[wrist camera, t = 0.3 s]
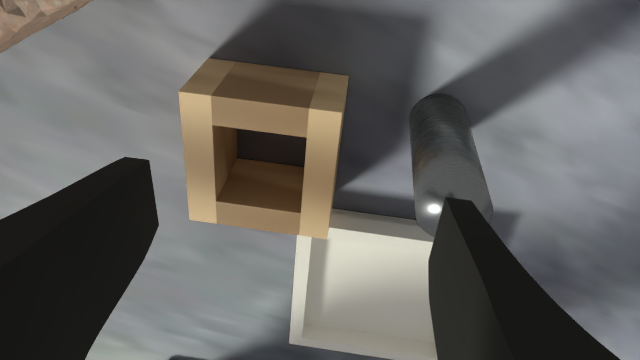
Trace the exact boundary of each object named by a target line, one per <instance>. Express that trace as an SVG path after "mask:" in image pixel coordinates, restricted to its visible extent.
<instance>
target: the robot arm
mask: <svg viewBox="0 0 640 360" xmlns="http://www.w3.org/2000/svg"><path fill="white" fill-rule="evenodd" d="M158 226H159V223H158V216H157V209H156V203H155V196H154V189H153V183H152V176H151V169H150V163H149V160H145V159H137V158H129V157H124V158H122V159H119V160H117V161H115V162H113V163H111V164H109V165H107V166H105V167H103V168H101V169H99V170H98V171H96V172H94V173H92V174H90V175H88V176H86V177H85V178H83V179H81V180H79V181H77V182H75V183H73V184H71V185H69V186H68V187H66V188H64V189H62V190H60V191H58V192H56V193H54V194H53V195H51V196H49V197H47V198H45V199H42V200H40V201H38V202H36V203H34V204H32V205H30V206H28V207H26V208H24V209H22V210H20V211H18V212H16V213H14V214H12V215H9V216H7V217H5V218H3V219H1V220H0V360H85V358H86V356H87V354H88V352H89V350H90V348H91V346H92V344H93V343H94V341H95V339H96V337H97V336H98V334H99V332H100V330H101V329H102V327H103V326H104V324H105V322H106V321H107V319H108V318H109V316H110V314H111V313H112V311H113V309H114V308H115V306H116V305H117V303H118V301H119V300H120V298H121V297H122V295H123V293H124V292H125V290H126V289H127V287H128V285H129V284H130V282H131V280H132V279H133V277H134V275H135V274H136V272H137V270H138V269H139V267H140V265H141V264H142V262H143V260H144V258H145V256H146V254H147V252H148V250H149V247H150V245H151V243H152V240H153V238H154V236H155V233H156V231H157V228H158ZM428 285H429V304H430V311H431V318H432V325H433V332H434V339H435V346H436V352H437V359H438V360H620V359H619V358H618V357H617V356H615V355H614V354H613V353H612V352H610V351H609V350H608V349H607V348H605V347H604V346H603V345H602V344H601V343H599V342H598V341H597V340H596V339H595V338H593V337H592V336H591V335H590V334H589V333H588V332H587V331H585V330H584V329H583V328H582V327H581V326H580V325H579V324H578V323H577V322H576V321H575V320H573V319H572V318H571V317H570V316H569V315H568V314H567V313H566V312H565V311H564V310H563V309H562V308H561V307H560V306H559V305H558V304H557V303H556V302H555V301H554V300H553V299H552V298H551V297H550V296H549V295H548V294H547V293H546V292H545V291H544V290H543V289H542V288H541V287H540V286H539V284H538V283H537V282H536V281H535V280H534V279H533V278H532V277H531V276H530V275H529V274H528V272H527V271H526V270H525V269H524V268H523V267H522V265H521V264H520V263H519V262H518V261H517V259H516V258H515V257H514V256H513V255H512V253H511V252H510V251H509V250H508V248H507V247H506V246H505V245H504V243H503V242H502V241H501V239H500V238H499V237H498V235H497V234H496V233H495V231H494V230H493V229H492V227H491V226H490V225H489V223H488V222H487V221H486V219H485V218H484V217H483V215H482V214H481V213H480V211H479V210H478V209H477V207H476V206H475V204H474V203H473V202H472V201H471V200H464V199H456V198H448V197H445V200H444V204H443V207H442V211H441V215H440V219H439V222H438V226H437V230H436V234H435V238H434V241H433V245H432V249H431V253H430V256H429V260H428Z"/></svg>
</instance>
